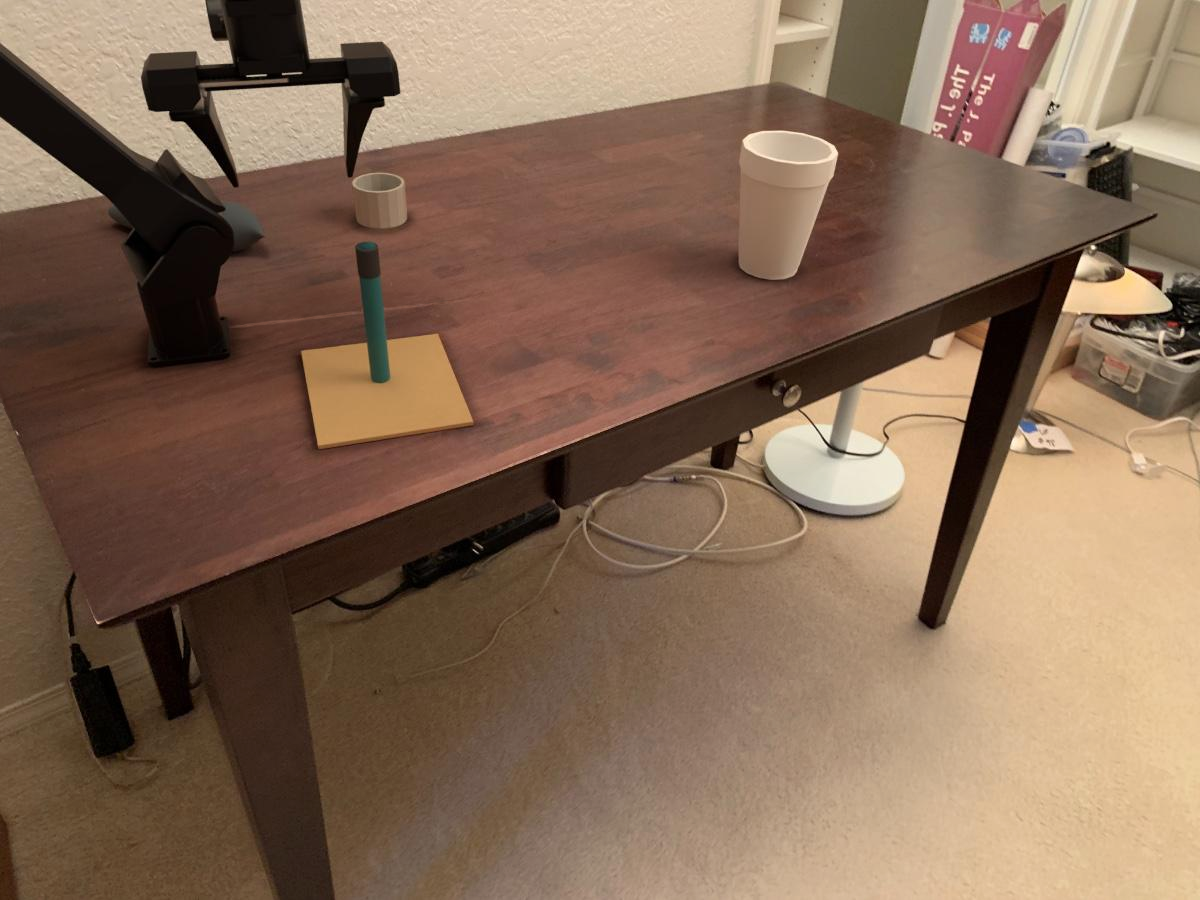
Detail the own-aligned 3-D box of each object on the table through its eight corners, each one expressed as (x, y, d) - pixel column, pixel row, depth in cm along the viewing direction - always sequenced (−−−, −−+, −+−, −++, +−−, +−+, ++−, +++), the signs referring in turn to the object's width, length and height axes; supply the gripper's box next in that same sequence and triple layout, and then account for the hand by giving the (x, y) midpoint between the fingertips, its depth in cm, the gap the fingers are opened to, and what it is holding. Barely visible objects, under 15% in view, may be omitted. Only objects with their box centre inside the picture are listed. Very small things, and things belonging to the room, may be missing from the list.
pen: (392, 382, 77) (379, 249, 69) (372, 384, 76) (356, 251, 69) (389, 371, 78) (376, 240, 70) (368, 374, 77) (353, 242, 70)
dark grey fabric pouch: (89, 237, 95) (75, 190, 92) (119, 218, 99) (107, 173, 96) (264, 267, 92) (255, 220, 89) (288, 246, 96) (281, 201, 93)
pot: (411, 229, 101) (408, 190, 98) (360, 233, 99) (356, 194, 97) (402, 209, 105) (399, 171, 102) (353, 213, 103) (349, 174, 101)
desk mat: (473, 425, 73) (473, 421, 73) (318, 449, 70) (317, 445, 69) (438, 337, 83) (437, 333, 83) (301, 354, 80) (300, 350, 80)
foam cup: (741, 240, 104) (760, 124, 96) (821, 259, 101) (847, 142, 93) (712, 272, 97) (729, 151, 89) (796, 295, 94) (822, 171, 86)
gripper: (372, -50, 76) (393, 138, 85) (127, -43, 71) (179, 155, 81) (389, -19, 67) (410, 184, 77) (114, -9, 63) (173, 206, 72)
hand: (293, 180), depth 77 cm, fingers open, 9 cm apart
